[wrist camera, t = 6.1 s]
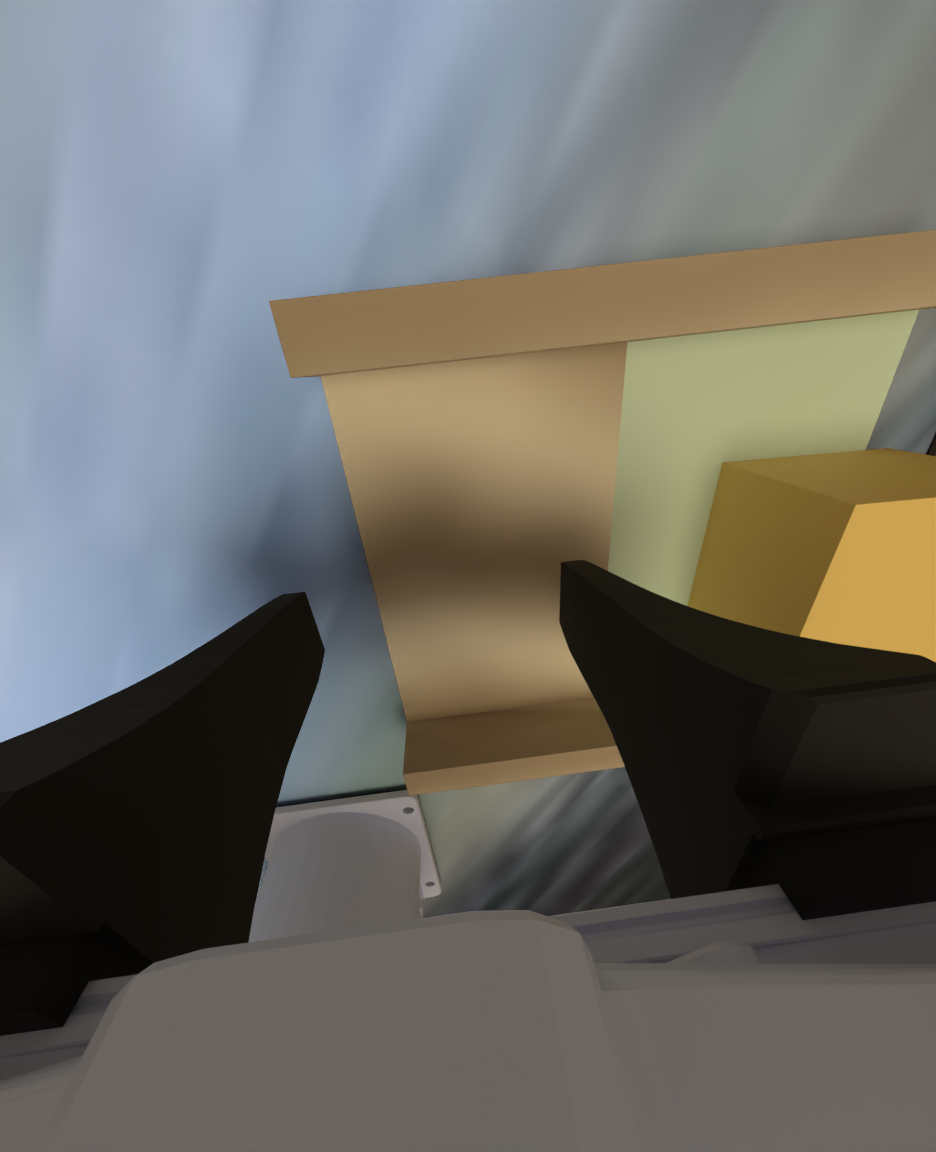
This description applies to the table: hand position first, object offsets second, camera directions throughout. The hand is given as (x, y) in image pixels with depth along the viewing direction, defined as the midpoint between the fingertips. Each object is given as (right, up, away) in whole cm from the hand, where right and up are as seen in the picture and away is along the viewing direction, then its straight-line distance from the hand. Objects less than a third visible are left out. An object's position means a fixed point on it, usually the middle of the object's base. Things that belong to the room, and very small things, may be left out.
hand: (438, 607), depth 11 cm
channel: (+5, +2, +2) cm, 6 cm away
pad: (+9, +2, +2) cm, 9 cm away
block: (+11, +2, +1) cm, 11 cm away
